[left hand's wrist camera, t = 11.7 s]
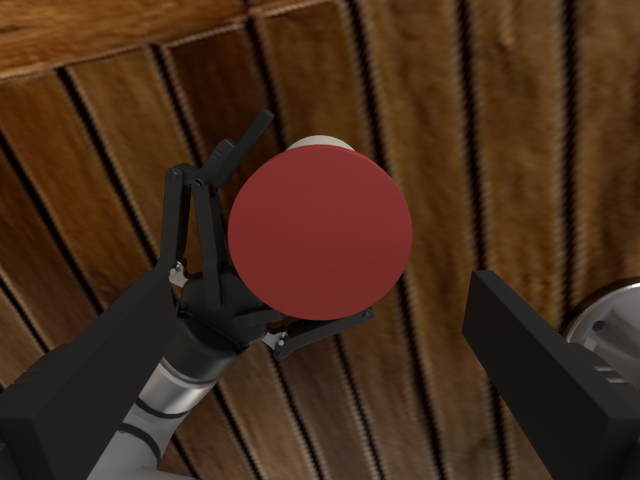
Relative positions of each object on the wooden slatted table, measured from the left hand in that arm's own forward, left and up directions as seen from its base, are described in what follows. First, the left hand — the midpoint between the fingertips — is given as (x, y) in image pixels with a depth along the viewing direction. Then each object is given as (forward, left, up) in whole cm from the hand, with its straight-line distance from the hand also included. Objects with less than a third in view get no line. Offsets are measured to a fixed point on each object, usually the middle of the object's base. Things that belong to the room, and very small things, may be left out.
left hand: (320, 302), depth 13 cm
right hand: (+2, -2, -15) cm, 16 cm away
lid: (0, 0, -7) cm, 7 cm away
